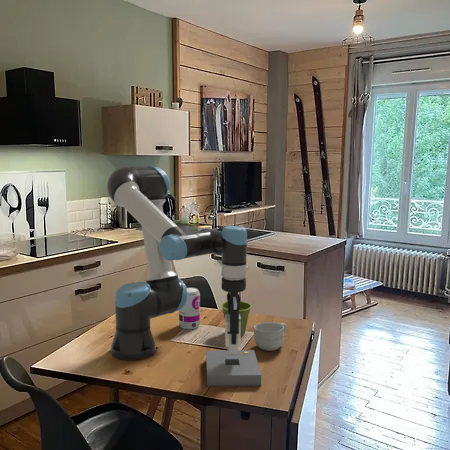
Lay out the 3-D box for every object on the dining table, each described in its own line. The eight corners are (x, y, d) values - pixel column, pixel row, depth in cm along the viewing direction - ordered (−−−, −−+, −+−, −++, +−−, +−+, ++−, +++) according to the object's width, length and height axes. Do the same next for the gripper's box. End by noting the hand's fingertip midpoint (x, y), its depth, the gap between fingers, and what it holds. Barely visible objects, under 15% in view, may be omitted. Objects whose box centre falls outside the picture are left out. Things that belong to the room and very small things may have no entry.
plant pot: (214, 331, 180) (214, 304, 178) (238, 325, 187) (238, 298, 185) (233, 341, 171) (233, 312, 169) (257, 334, 178) (258, 306, 176)
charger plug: (225, 356, 143) (226, 318, 141) (224, 350, 147) (225, 313, 145) (240, 356, 143) (241, 318, 141) (238, 350, 147) (239, 313, 146)
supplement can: (203, 325, 187) (203, 289, 185) (191, 331, 180) (191, 294, 178) (187, 321, 191) (187, 286, 189) (174, 327, 184) (174, 290, 182)
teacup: (263, 356, 159) (264, 333, 158) (247, 344, 168) (248, 323, 167) (296, 349, 165) (297, 327, 164) (279, 338, 175) (280, 318, 174)
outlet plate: (207, 386, 137) (207, 374, 136) (206, 360, 154) (206, 349, 154) (261, 386, 138) (261, 374, 137) (253, 360, 155) (253, 349, 155)
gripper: (249, 284, 133) (247, 361, 136) (243, 270, 151) (241, 338, 154) (223, 284, 133) (222, 362, 136) (220, 270, 150) (219, 339, 153)
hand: (232, 349), depth 145 cm, fingers closed on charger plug, 4 cm apart
